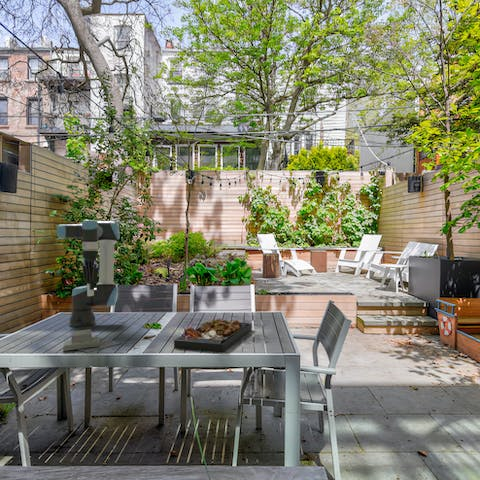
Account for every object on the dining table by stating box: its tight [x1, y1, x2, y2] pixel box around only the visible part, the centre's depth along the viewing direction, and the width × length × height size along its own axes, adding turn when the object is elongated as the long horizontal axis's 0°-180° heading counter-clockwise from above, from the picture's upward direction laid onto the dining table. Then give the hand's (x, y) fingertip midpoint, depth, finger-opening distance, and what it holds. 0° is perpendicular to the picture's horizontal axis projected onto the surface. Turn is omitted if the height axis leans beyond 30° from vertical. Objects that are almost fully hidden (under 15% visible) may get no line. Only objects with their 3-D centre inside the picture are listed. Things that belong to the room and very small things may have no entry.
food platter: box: [173, 318, 252, 353], centre depth 190 cm, size 45×25×10 cm, turn 161°
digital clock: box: [62, 328, 101, 352], centre depth 175 cm, size 16×9×11 cm
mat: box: [76, 339, 122, 353], centre depth 177 cm, size 10×18×1 cm, turn 145°
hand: (90, 295), depth 189 cm, fingers closed
